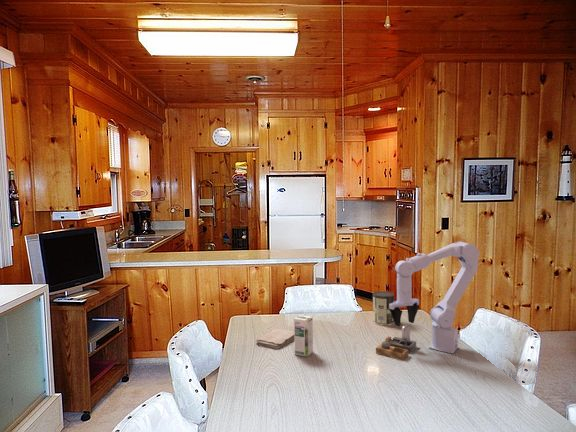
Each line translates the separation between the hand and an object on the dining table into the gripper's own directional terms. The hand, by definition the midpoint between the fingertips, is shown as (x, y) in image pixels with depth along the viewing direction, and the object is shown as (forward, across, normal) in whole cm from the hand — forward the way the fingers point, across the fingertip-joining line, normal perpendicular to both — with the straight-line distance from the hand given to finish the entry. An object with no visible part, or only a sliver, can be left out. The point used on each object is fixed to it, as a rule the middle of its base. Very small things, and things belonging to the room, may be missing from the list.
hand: (404, 324), depth 155 cm
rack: (+10, -9, -2) cm, 13 cm away
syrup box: (+10, -38, +17) cm, 42 cm away
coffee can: (+10, +15, +28) cm, 34 cm away
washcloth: (+10, -40, +34) cm, 54 cm away
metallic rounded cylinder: (+10, 0, -1) cm, 10 cm away
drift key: (+10, -2, +4) cm, 11 cm away
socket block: (+10, 0, +1) cm, 10 cm away
